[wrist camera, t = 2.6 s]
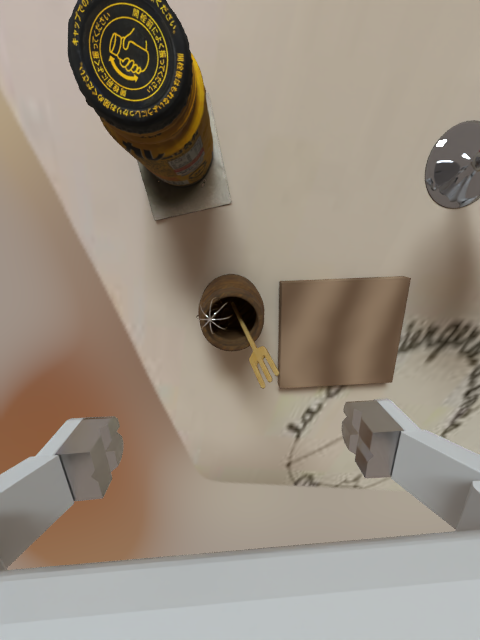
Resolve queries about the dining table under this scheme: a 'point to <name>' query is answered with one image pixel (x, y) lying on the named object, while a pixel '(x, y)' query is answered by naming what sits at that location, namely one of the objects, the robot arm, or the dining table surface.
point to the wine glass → (455, 166)
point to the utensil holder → (235, 319)
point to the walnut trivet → (340, 330)
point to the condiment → (150, 99)
